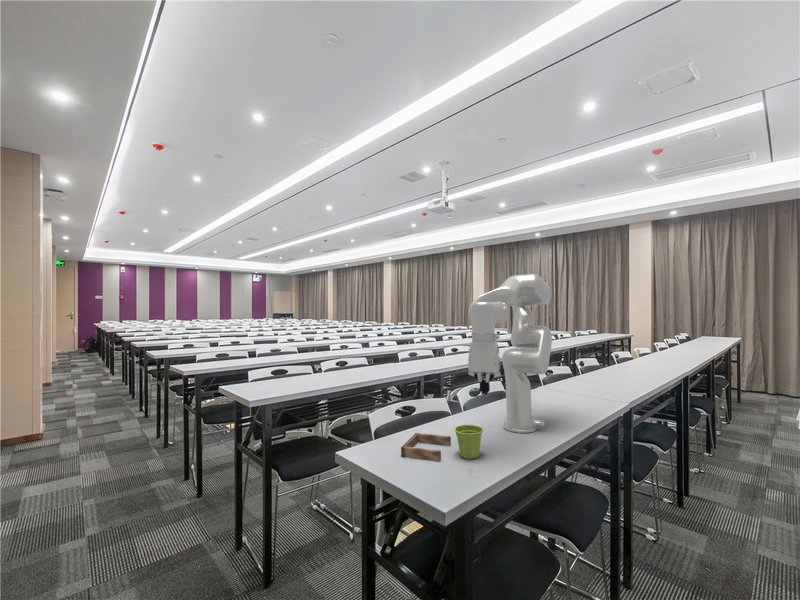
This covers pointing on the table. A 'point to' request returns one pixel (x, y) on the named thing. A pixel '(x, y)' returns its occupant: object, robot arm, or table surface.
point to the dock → (421, 453)
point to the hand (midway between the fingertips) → (484, 393)
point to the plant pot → (469, 440)
